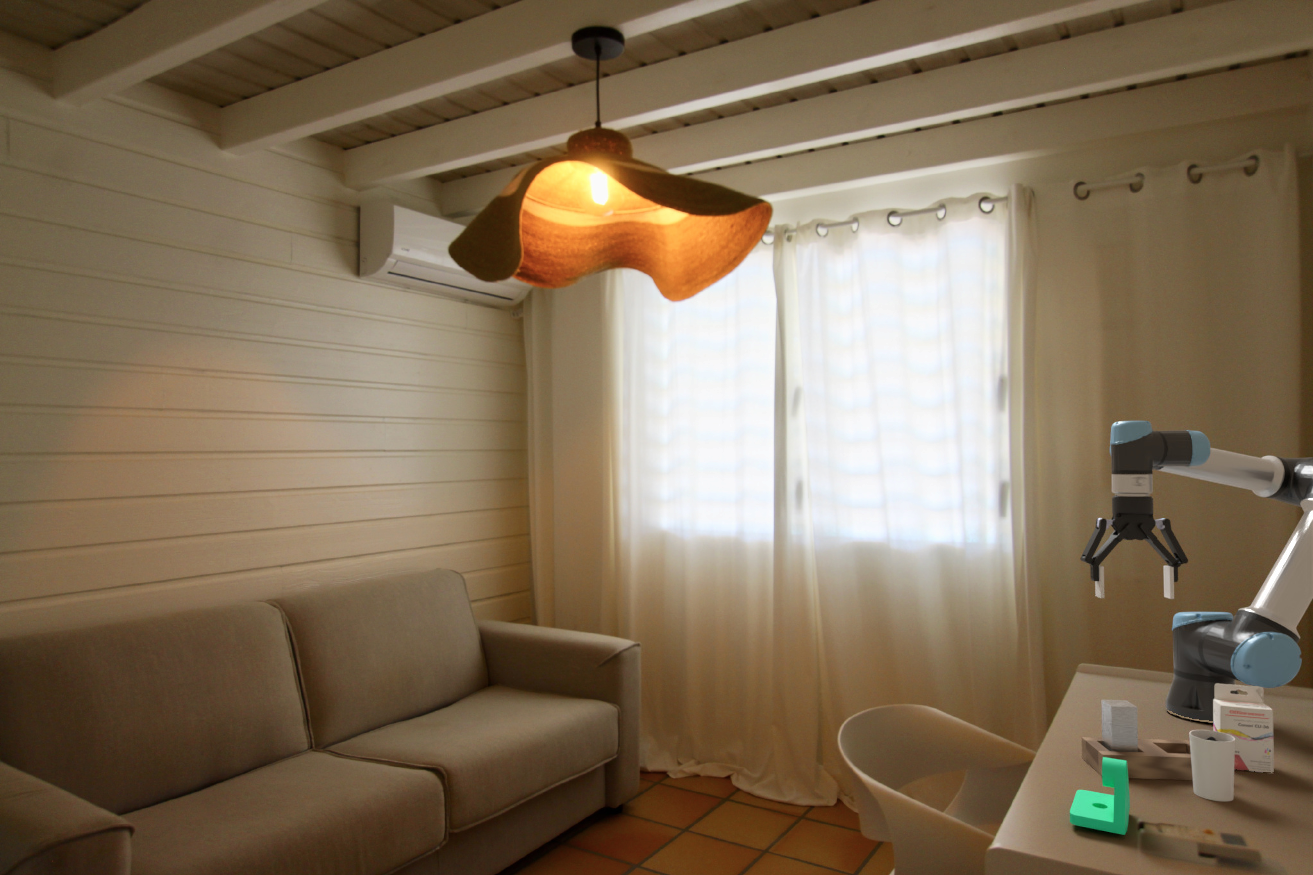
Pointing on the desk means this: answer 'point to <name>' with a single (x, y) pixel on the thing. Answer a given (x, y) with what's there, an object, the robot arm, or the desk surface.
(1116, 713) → the steel peg
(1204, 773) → the white cup
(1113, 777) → the camera mount
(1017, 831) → the desk surface
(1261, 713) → the ink cartridge box
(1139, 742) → the brown holed block
